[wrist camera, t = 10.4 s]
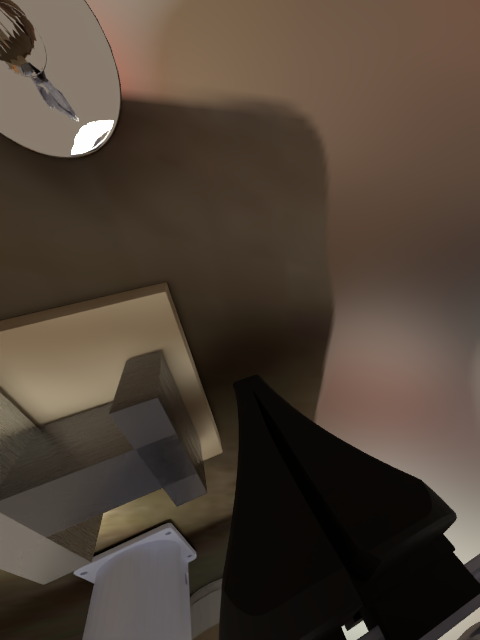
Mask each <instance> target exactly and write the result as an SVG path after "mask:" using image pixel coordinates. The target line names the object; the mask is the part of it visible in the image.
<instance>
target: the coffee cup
mask: <svg viewBox="0 0 480 640" xmlns="http://www.w3.org/2000/svg"><path fill="white" fill-rule="evenodd" d="M221 586H222V578H221V579H219V580H216V581H214V582H212V583H209V584H207V585H206V586H204V587H202V588H201V589H199V590H198V591H196V592H195V593H194V594H193V595H192V596H191V597H190V616H191V637H192V640H219V619H220V605H221Z"/></svg>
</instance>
